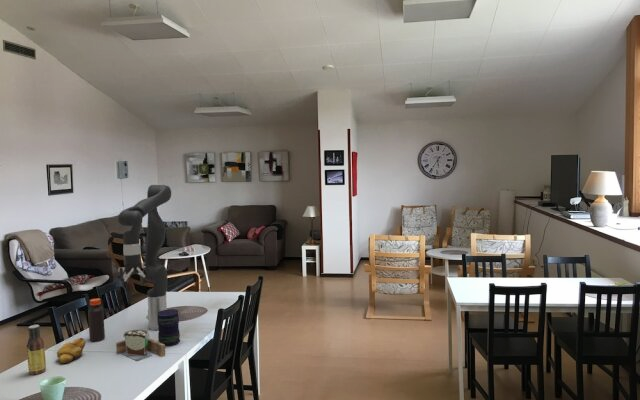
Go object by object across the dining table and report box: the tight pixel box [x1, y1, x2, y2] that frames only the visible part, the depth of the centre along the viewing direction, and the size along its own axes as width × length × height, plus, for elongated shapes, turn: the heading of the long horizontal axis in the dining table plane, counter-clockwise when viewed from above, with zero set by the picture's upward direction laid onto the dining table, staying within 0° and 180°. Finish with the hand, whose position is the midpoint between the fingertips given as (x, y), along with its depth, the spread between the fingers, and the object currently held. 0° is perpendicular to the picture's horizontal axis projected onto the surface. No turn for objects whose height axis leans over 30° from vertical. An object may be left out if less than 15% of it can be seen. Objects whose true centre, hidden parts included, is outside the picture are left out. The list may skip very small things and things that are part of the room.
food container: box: [123, 328, 150, 356], centre depth 213 cm, size 12×6×10 cm, turn 73°
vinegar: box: [87, 298, 106, 343], centre depth 231 cm, size 7×7×20 cm
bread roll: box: [56, 337, 86, 364], centre depth 208 cm, size 13×10×8 cm
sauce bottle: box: [26, 324, 47, 376], centre depth 194 cm, size 7×6×20 cm
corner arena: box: [115, 337, 166, 362], centre depth 211 cm, size 20×12×5 cm, turn 51°
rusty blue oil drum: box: [157, 308, 181, 348], centre depth 225 cm, size 10×10×15 cm
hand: (133, 287), depth 221 cm, fingers open, 8 cm apart
